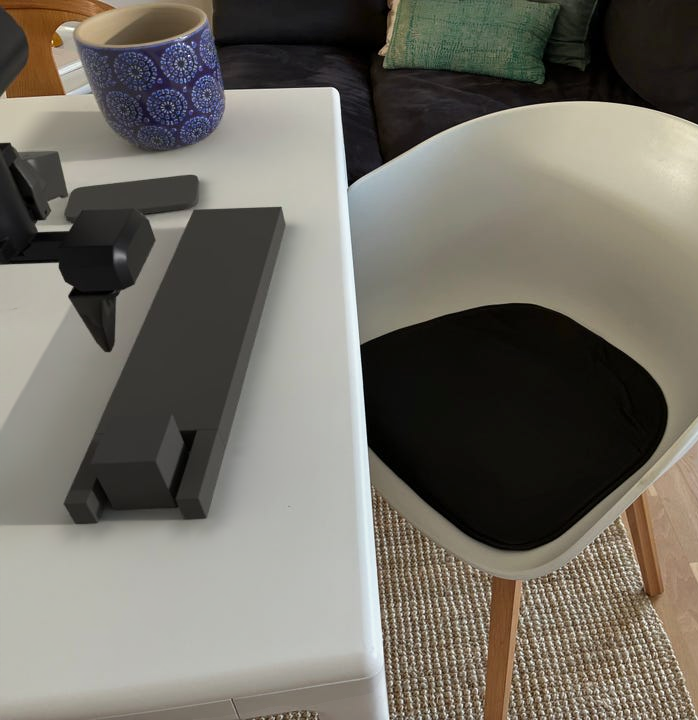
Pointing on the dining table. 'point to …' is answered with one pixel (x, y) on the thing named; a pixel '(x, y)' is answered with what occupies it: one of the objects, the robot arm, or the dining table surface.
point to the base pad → (194, 349)
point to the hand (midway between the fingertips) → (45, 350)
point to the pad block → (141, 461)
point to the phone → (136, 196)
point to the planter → (153, 73)
